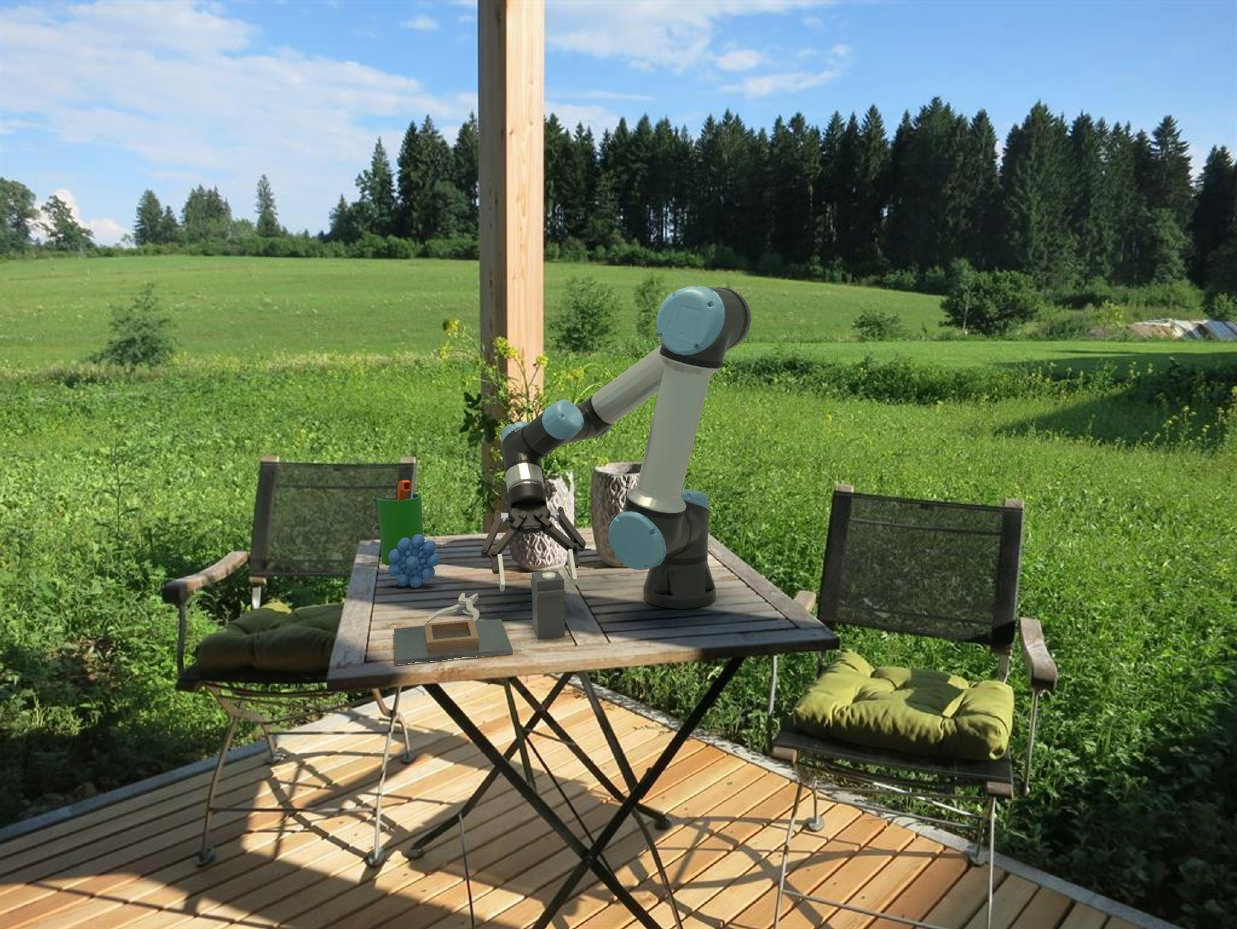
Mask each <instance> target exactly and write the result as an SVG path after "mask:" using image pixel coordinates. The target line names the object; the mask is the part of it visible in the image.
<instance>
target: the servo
mask: <svg viewBox="0 0 1237 929" xmlns="http://www.w3.org/2000/svg"><path fill="white" fill-rule="evenodd" d="M530 585H531V596H532V599H531V600H532V601H531V603H532V606H531V607H532V629H533V631H534V634H535V637H537V640H548V639H558V638H559V639H560V638H566V628H565V626H566V622H565V620H566V619H565V614H566V613H565V612H566V611H565V596H566V590H565V579H564V577H563V576H562V574H561V573H560V571H559V570H549V571H534V572H533V571H532V572H531V579H530Z"/></svg>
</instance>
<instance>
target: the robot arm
mask: <svg viewBox="0 0 1237 929" xmlns="http://www.w3.org/2000/svg"><path fill="white" fill-rule="evenodd" d="M751 313H752V312H751V308H750V306H749V305H748V303H747V301H746V299H745V298H744V297H743V296H742V295H741V294H740V293H738V292H737V291H735V290H733V289H730V288H727V287H714V286H713V287H711V286H704V285H703V286H701V285H691V286H688V287H683V288H680V289H677V290H676V291H675V290H674V292H672V293H671V294H670V295H668V296H667V297H666V298H665V299H664V301H663V302H662V304H661V305H660V307H659V309H658V312H657V315H656V322H655V323H656V326H655V328H656V332H657V335H658V336H659V340H660V342H661V344H660V345H658V346H657V347H656V348H654V350H652V351H650V352H649V353H648V354H646V355H645V356H643V357H642V358H641V359H640V360H638V361H637V362H636V363H634V364H632V365H631V366H630V367H628V369H626V370H625V371H623V372H622V373H621V374H619V375H618V376H617V377H615V378H614V379H612V380H611V381H610V382H608V383H607V384H605V385H604V386H602V387H601V388H600V389H599V390H597V391H596V392H594V393H593V394H592V395H590V396H589V397H588V398H586V399H585V400H584V401H582V402H580V403H579V404H575V403H573V402H572V401H568V400H567V399H560V400H558V401H556V402H555V403H553V404H552V405H548V407H547V408H545V410H543V411H542V412H541V413H539V415H538V416H536V417H535V418H534V419H532V420H531V421H530V422H527V421H515V422H514V423H510V424H509V423H508V425H506V426H504V428H503V429H502V432H501V434H500V440H501V444H500V450H501V453H502V460H503V467H504V468H503V469H504V474H505V482H506V492H507V501H508V509H509V511H508V512H502V511H501V510H499V509H497V510H495V512H494V518H493V519H494V520H493V523H492V526H491V528H490V530H489V531H488V534H487V536H486V538H485V540H484V542H483V544H482V547H481V549H480V557H481V558H482V559H486V558H487V559H489V560H490V562H491V563H490V565H491V571H492V574H493V575H498V582H499V584H498V585H499V591H500V592H505V588H506V581H505V579H506V578H505V572H504V564H503V562H504V561H503V554H502V553H503V552H504V550H505V549H506V548H507V547H508V546H509V545H510V543H511V542H512V541H513V539H514V538H516V537H517V536H518V535H519V533H522V534H523V535H527V534H539V533H540V532H541V533H543V534H544V535H545V536H549V537H550V539H552V540H553V541H554V542H555V543H557V545H559V546H560V547H561V548H562V549H564V550H565V551H566V552H567V553H566V561H567V566H568V572H569V578H570V579H569V580H570V586H571V587H574V586H576V584H577V582H578V578H577V570H576V569H578V568H579V566H580V558H579V552H581V553H582V552H584V551H585V549H586V548H585V547H586V545H587V542H586V540H585V539H584V538H583V537H582V535H581V534H580V533H579V531H578V530H577V529H576V528H575V526H574V525H573V523H572V522H571V520H569V518H568V517H567V516H566V512H565V509H564V507H563V506H558V507H557V509H554V510H553V509H552V510H550V509H549V508H548V505H547V503H548V502H547V497H546V491H545V483H544V477H543V471H542V470H543V469H542V462H541V461H542V460H543V459H544V458H545V457H547V456H548V455H550V454H551V453H553V452H554V451H555V450H556V449H558V448H559V447H562V446H563V445H568V444H571V443H577V442H580V441H585V440H589V439H597V438H600V437H601V436H604V435H605V434H608V433H609V431H610V430H611V428H612V426H613V424H615V423H616V422H619V420H621V419H622V418H624V417H625V416H626V415H628V414H629V413H631V412H633V410H636V409H637V408H638V407H639V406H640V405H642V404H644V403H645V402H647V401H648V400H650V399H651V398H652V397H653V396H655V395H656V394H658V395H657V398H656V402H655V406H654V411H653V416H652V419H651V424H650V428H649V431H648V437H647V441H646V444H645V449H644V454H643V458H642V462H641V467H640V471H639V475H638V479H637V483H636V485H635V486H632V488H630V489H629V490H627V493H626V495H625V500H624V504H623V508H622V512H620V513H619V514H617V515H615V517H614V518H613V519H612V521H611V522H610V525H609V527H608V531H607V532H608V533H607V539H608V540H607V541H608V544H609V546H610V547H609V548H610V549H611V551H612V552H613V554H614V556H615V558H616V559H617V561H619V562H620V563H621V564H623V565H624V566H626V567H627V568H629V569H631V570H636V571H645V570H648V572H647V575H646V578H645V581H644V583H643V588H642V589H643V591H642V596H643V600H644V601H645V602H646V603H648V604H650V605H653V606H656V607H659V608H660V607H661V608H666V609H680V610H681V609H682V610H684V609H686V610H687V609H696V608H702V607H705V606H708V605H711V604H713V603H714V602H716V597H717V596H716V595H717V594H716V593H717V589H716V588H717V587H716V585H715V581H714V578H713V575H712V572H711V569H710V565H709V559H708V557H709V556H708V554H709V552H708V548H709V512H710V507H709V498H708V495H707V494H706V493H705V492H704V491H700V490H696V489H688V488H687V489H686V488H683V487H684V483H685V480H686V475H687V471H688V468H689V465H690V461H691V460H690V459H691V457H692V452H693V447H694V445H695V440H696V436H697V432H698V428H699V425H700V420H701V416H702V412H703V409H704V405H705V400H706V397H707V392H708V388H709V384H710V380H711V378H712V377H711V376H713V375H714V374H715V373H717V372H719V371H721V369H722V368H723V363H724V359H725V355H726V353H727V352H729V351H730V350H732V349H734V348H735V347H737V346H738V345H741V343H742V342H743V341H744V340H745V338H746V337H747V335H748V334H749V331H750V328H751V323H752V314H751ZM551 518H553V519H554V521H555V522H558V525H559V527H561V529H562V530H563V531H564V532H563V531H561V530H560V529H558V528H557V527H556V526H555V525H554V523H553V522H552V521H551V520H550V519H551ZM506 521H508V522H509V523H510V524H511V525H510V527H509V529H507V531H506V532H505V533H504V535H503V536H502V537H501V539H500V540H499V541H497V543H496V544H495V545H494V547H493V544H494V542H495V540H496V537H497V535H498V533H499V531H500V528H501V525H504V524H505V522H506ZM564 533H565V534H564ZM491 548H492V549H491Z"/></svg>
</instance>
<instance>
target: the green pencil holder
mask: <svg viewBox="0 0 1237 929" xmlns="http://www.w3.org/2000/svg"><path fill="white" fill-rule="evenodd" d="M411 484H412V483H411V481H410V480H408V479H403V480H399V481H398V482H397V493H396V494H397V497H396V498H397V499H391V500H390V499H383V498H381V497H378V498H377V506H378V507H377V509H378V510H377V511H378V523H379V524H378V526H379V527H378V528H379V539H380V543H379V544H380V554H381V557H380V558H381V563H382V564H383V565H387V566H390V565H391V564H392V562H391V561H390V560H389V553H390V552H391V551H392V550H393V549H398V542H399V540H400V539H402V538H409V539H410V540H411V539H412V538H413V536H415V535H417V534H420V535H423V536H424V525H423V524H424V522H423V520H424V519H423V504H422V494H421V493H417V492H413V493H412V497H411V498H408V496H407V494H408V492H409V491H411V490H412V485H411Z"/></svg>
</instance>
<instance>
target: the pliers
mask: <svg viewBox="0 0 1237 929" xmlns="http://www.w3.org/2000/svg"><path fill="white" fill-rule="evenodd" d="M478 600H479V593H474V594H473V595H471V596H469V597H466V592H461V594H460V595H459V597H458V603H457V604H455V605H452V606H449V607H448V606H447V607H444V608H442V609H439V610H437V611H435V612H433V613H431V614H430V615H429V616H428V617H427V618H426V621H425V622H426V623H431V621H433V620H434V619H436V618H437V617H439V616H443V615H449V614H453V613H454V614H455V613H457V612H458V609H461V608H466V610H465V609H462V610H461V612H462V613H463V614H465V615H467V616H471V617H472V619H474V621H479V619H480V610H478V609H477V608H475V607H474V604H475V603H476V602H477V601H478ZM426 623H425V624H426Z"/></svg>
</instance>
